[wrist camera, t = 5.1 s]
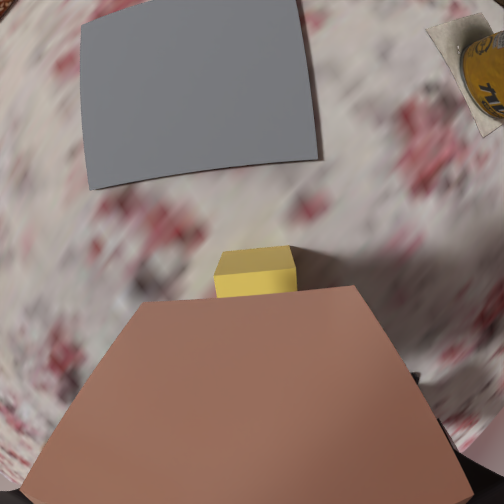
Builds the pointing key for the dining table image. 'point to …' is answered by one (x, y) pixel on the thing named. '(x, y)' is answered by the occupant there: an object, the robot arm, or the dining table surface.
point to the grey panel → (193, 89)
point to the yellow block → (255, 272)
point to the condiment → (475, 66)
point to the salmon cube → (250, 411)
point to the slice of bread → (4, 6)
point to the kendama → (502, 0)
